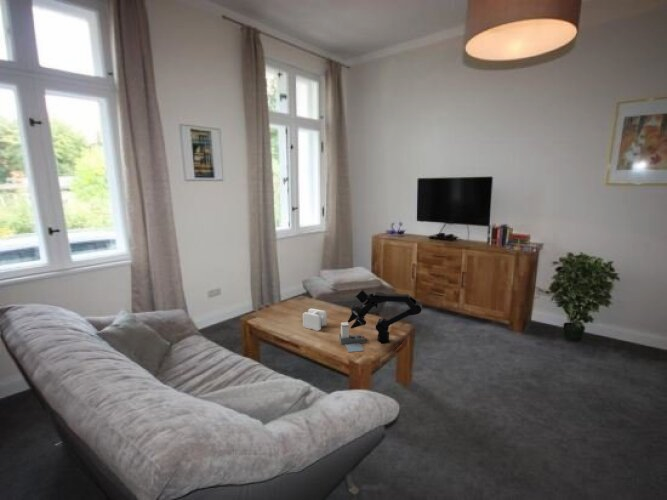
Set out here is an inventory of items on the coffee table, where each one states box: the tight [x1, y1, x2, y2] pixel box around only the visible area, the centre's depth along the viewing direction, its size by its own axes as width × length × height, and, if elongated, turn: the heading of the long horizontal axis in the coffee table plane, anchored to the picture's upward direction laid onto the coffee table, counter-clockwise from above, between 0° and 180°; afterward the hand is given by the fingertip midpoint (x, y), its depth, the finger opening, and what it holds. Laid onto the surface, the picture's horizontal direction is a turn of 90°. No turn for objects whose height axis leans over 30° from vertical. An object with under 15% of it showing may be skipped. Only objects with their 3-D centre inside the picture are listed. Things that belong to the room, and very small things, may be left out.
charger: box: [340, 321, 350, 338], centre depth 225 cm, size 4×4×10 cm
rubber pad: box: [344, 343, 365, 353], centre depth 219 cm, size 10×10×1 cm
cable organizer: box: [302, 308, 328, 332], centre depth 248 cm, size 15×11×12 cm
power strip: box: [338, 333, 367, 346], centre depth 227 cm, size 16×7×4 cm, turn 100°
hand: (349, 325), depth 225 cm, fingers open, 9 cm apart
